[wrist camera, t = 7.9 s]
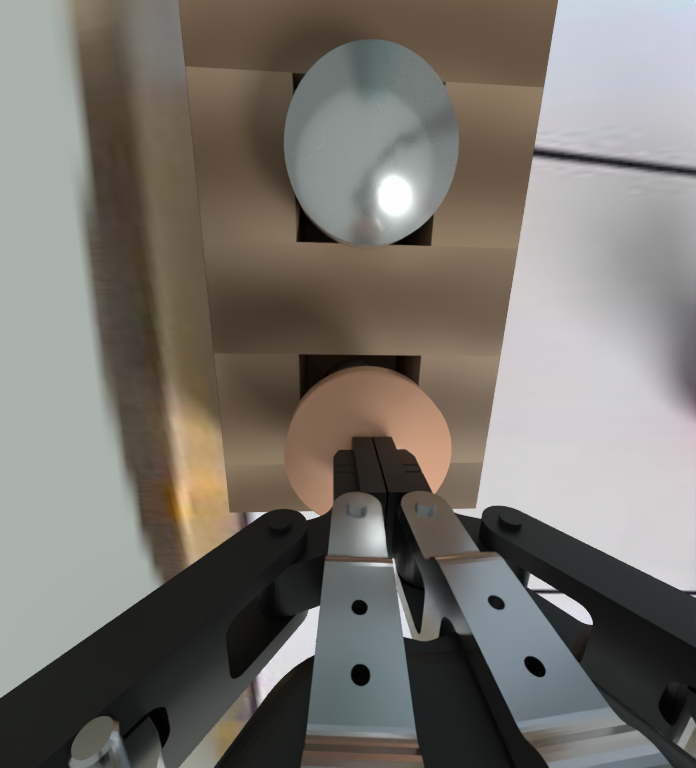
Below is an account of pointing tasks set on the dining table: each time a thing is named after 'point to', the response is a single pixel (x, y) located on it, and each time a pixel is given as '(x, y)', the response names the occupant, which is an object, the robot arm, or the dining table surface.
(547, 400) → the dining table surface
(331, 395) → the terracotta plunger
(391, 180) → the steel plunger
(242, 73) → the button panel
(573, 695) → the robot arm
